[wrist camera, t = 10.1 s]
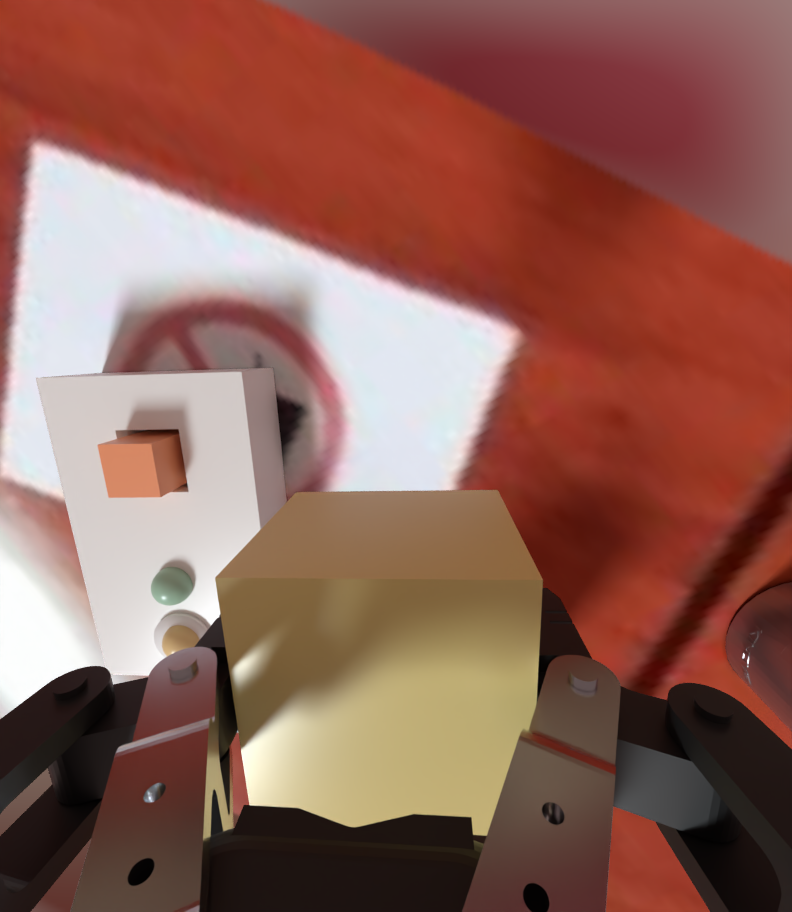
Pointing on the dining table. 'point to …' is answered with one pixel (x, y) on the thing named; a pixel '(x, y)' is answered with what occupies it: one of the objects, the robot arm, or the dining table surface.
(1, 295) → the dining table surface
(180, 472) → the button
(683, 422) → the dining table surface
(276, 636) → the cap
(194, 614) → the panel
